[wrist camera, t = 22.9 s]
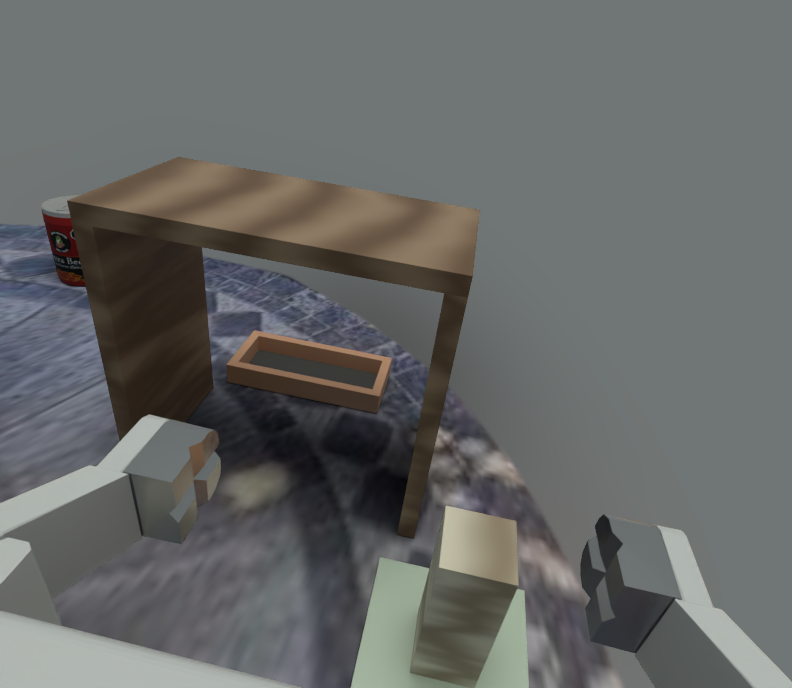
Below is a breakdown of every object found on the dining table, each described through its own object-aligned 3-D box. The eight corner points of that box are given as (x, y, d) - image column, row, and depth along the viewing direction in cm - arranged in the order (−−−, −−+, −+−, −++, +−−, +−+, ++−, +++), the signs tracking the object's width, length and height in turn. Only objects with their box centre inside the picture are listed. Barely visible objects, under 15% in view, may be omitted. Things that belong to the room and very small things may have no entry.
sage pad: (342, 724, 33) (343, 720, 33) (379, 561, 43) (380, 557, 43) (529, 773, 32) (532, 769, 32) (522, 594, 42) (524, 590, 42)
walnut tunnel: (126, 472, 47) (66, 200, 34) (200, 385, 59) (178, 156, 46) (413, 538, 45) (472, 276, 32) (431, 433, 57) (479, 210, 44)
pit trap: (227, 382, 60) (226, 364, 59) (254, 346, 67) (254, 330, 66) (377, 413, 59) (379, 396, 58) (389, 374, 66) (391, 358, 64)
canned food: (45, 280, 75) (26, 206, 69) (86, 260, 81) (71, 191, 75) (93, 291, 74) (77, 217, 68) (129, 270, 80) (118, 201, 74)
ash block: (409, 672, 35) (439, 567, 29) (418, 610, 39) (445, 505, 33) (474, 689, 35) (518, 585, 29) (476, 624, 39) (516, 521, 32)
